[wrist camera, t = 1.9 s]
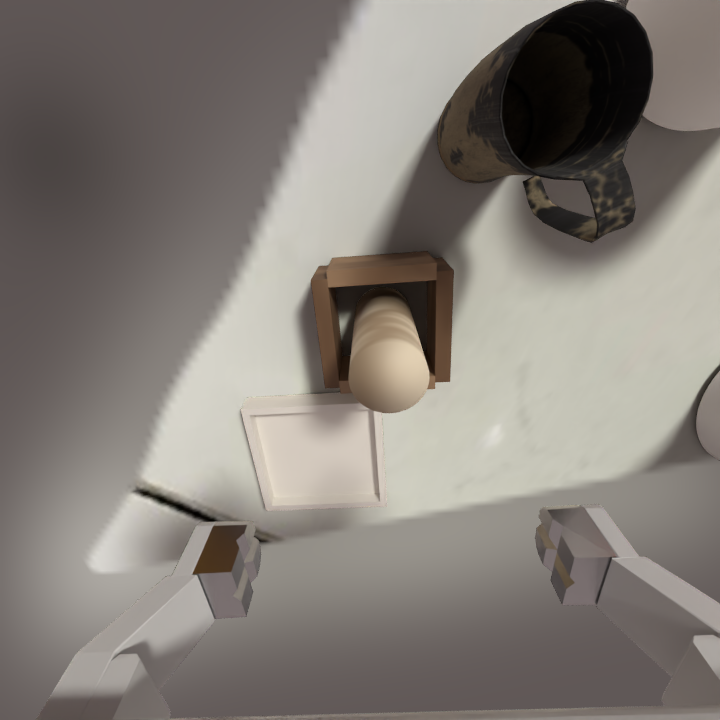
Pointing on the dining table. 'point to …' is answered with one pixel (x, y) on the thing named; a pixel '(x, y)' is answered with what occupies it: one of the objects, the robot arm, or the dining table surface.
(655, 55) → the cup
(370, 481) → the tray
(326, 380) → the holder
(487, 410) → the dining table surface
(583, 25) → the mug
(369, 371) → the dowel
